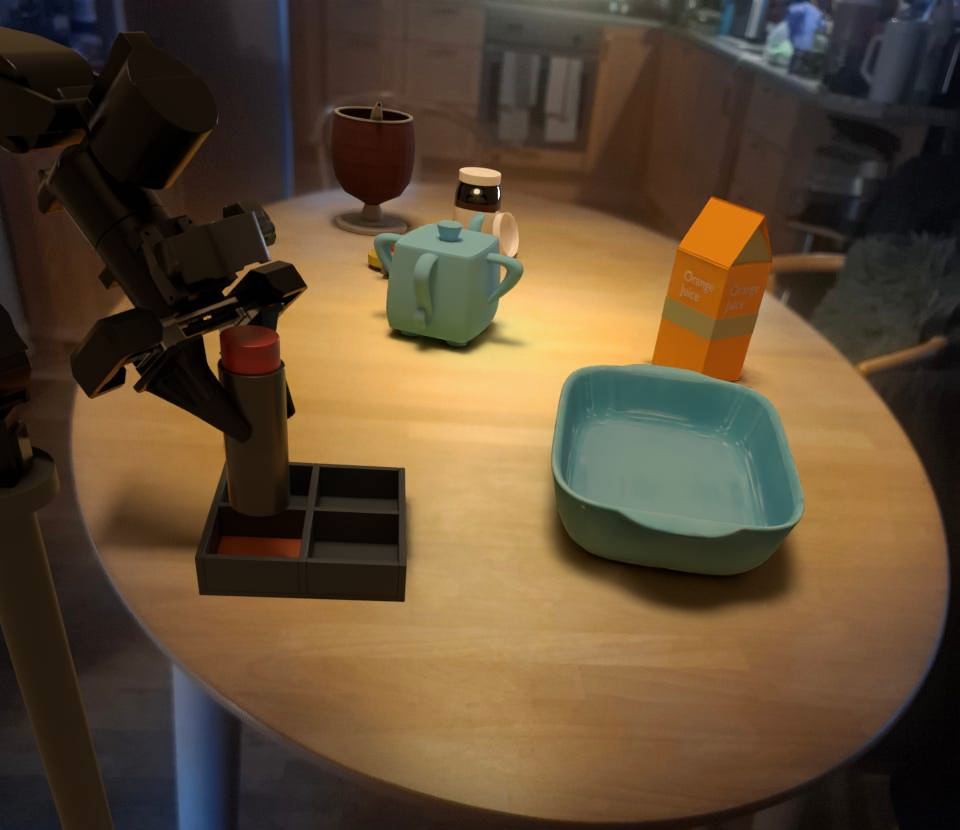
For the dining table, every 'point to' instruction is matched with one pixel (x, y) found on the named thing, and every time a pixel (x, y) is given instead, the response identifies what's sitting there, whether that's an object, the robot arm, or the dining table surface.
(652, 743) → the dining table surface
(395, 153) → the mate gourd
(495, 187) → the spread jar
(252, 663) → the dining table surface
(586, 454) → the casserole dish
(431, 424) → the dining table surface
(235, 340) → the pepper grinder
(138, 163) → the robot arm
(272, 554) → the tray
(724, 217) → the orange juice
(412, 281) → the teapot
